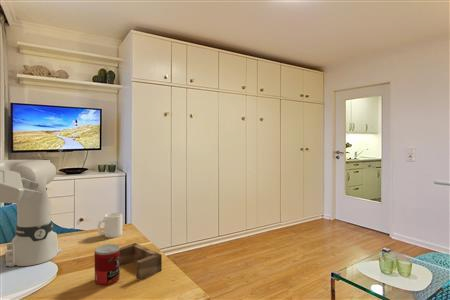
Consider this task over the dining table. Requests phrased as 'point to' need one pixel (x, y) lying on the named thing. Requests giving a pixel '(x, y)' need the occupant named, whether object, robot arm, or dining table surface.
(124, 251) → the corral
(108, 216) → the cup
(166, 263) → the dining table surface
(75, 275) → the dining table surface
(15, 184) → the robot arm
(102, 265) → the canned food
